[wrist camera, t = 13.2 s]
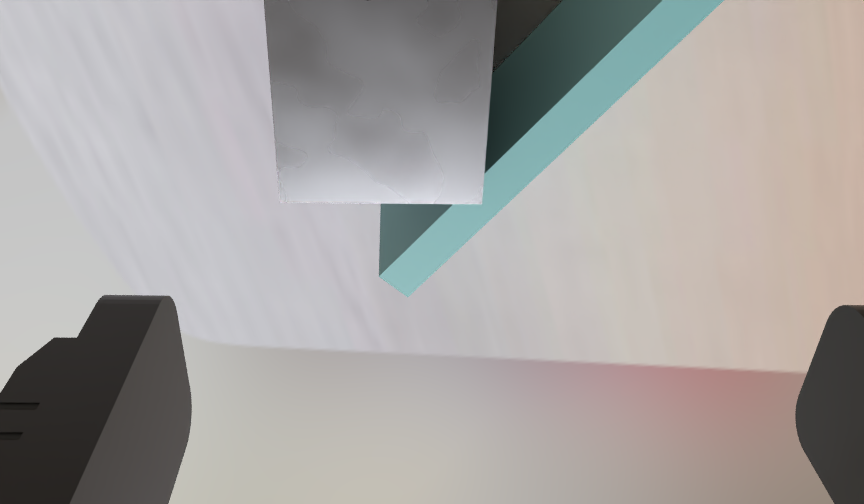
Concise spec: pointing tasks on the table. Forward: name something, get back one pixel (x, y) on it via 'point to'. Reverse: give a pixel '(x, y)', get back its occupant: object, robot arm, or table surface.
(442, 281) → the table surface
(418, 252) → the door
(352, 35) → the block
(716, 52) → the table surface
